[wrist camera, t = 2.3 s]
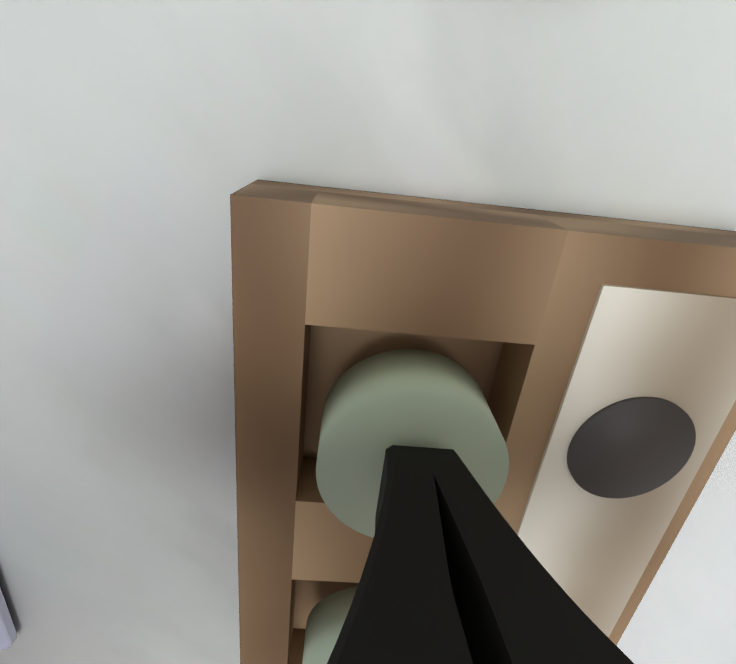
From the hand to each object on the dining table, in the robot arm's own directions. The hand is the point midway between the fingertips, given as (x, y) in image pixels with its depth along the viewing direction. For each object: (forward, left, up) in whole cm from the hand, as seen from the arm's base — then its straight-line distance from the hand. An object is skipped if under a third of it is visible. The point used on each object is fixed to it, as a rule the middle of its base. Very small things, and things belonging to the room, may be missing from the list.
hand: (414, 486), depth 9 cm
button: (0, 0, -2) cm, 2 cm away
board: (+2, -8, -4) cm, 9 cm away
